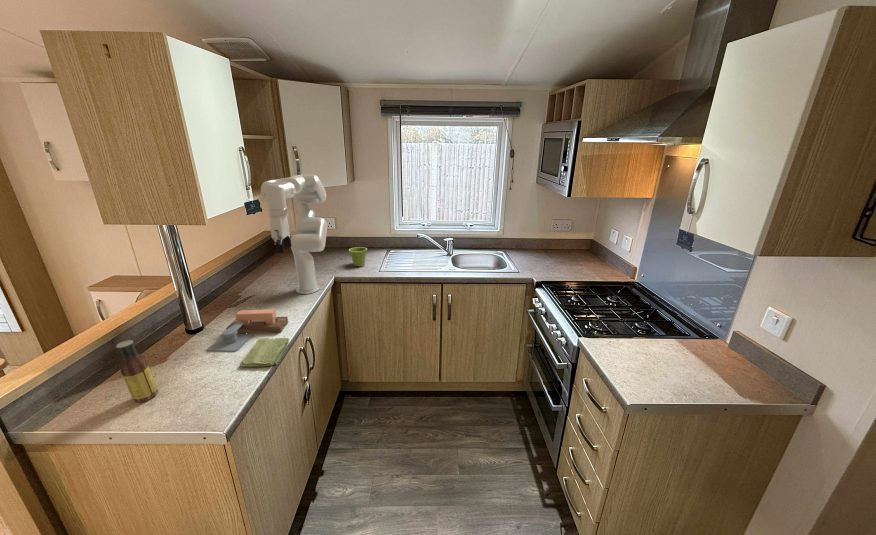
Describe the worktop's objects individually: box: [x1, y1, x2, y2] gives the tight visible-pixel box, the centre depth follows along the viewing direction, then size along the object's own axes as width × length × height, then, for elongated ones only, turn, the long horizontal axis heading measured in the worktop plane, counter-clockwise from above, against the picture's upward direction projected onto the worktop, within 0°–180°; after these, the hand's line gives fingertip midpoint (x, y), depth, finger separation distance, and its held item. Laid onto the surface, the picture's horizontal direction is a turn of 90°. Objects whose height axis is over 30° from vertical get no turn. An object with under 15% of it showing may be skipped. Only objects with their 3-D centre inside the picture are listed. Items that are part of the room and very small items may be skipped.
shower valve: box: [206, 322, 254, 353], centre depth 136 cm, size 12×6×15 cm
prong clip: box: [235, 308, 277, 325], centre depth 145 cm, size 4×15×8 cm, turn 94°
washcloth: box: [239, 337, 290, 368], centre depth 128 cm, size 13×18×3 cm
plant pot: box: [348, 246, 368, 267], centre depth 224 cm, size 12×12×11 cm
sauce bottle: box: [115, 339, 159, 403], centre depth 103 cm, size 7×6×20 cm
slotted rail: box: [225, 316, 289, 334], centre depth 146 cm, size 9×22×3 cm, turn 94°
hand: (284, 249), depth 154 cm, fingers open, 9 cm apart
